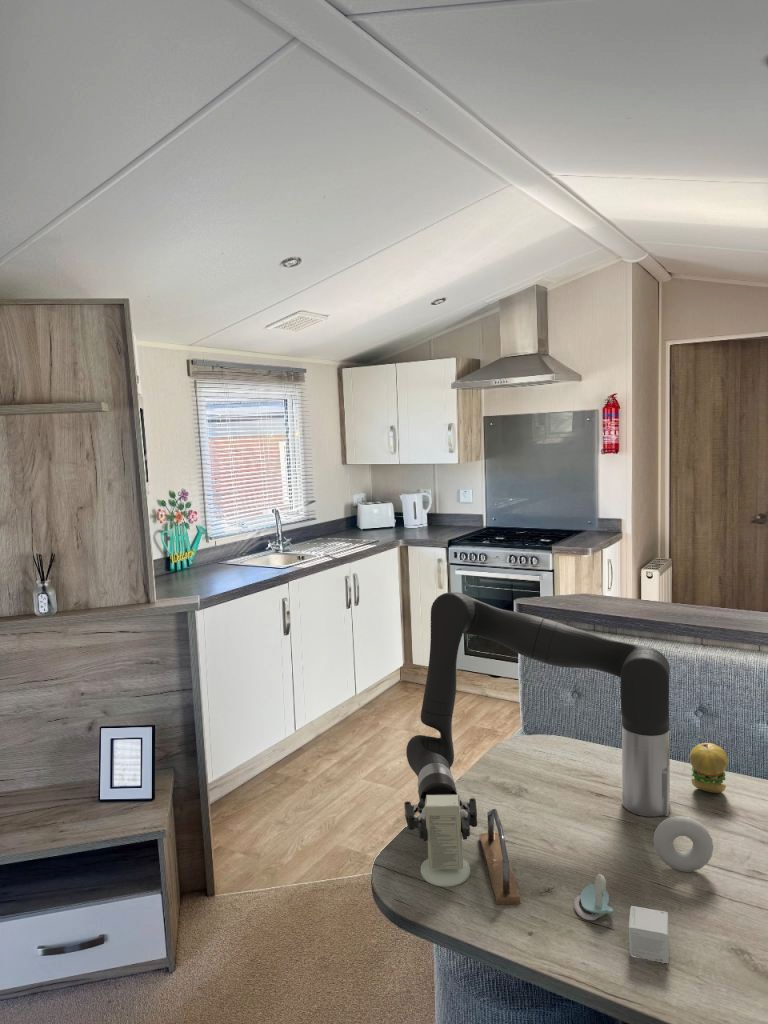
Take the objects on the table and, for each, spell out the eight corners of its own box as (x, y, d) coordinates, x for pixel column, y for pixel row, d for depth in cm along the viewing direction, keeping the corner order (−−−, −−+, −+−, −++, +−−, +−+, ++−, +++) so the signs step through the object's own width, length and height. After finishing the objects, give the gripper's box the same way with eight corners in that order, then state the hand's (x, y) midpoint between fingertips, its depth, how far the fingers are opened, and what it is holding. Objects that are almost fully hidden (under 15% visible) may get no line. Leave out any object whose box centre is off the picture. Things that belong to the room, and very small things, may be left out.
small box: (630, 933, 117) (630, 904, 117) (669, 940, 115) (669, 911, 114) (628, 957, 112) (628, 927, 111) (668, 966, 110) (668, 935, 109)
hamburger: (730, 789, 160) (730, 736, 159) (725, 805, 154) (726, 749, 153) (691, 782, 164) (692, 730, 163) (686, 796, 158) (686, 743, 157)
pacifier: (577, 925, 120) (615, 925, 119) (576, 888, 119) (614, 888, 118) (571, 896, 127) (607, 896, 126) (569, 862, 126) (605, 862, 126)
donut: (711, 867, 133) (712, 815, 132) (714, 879, 130) (715, 825, 129) (652, 861, 136) (652, 809, 135) (653, 872, 132) (654, 819, 131)
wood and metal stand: (479, 839, 145) (478, 791, 144) (499, 838, 145) (498, 790, 144) (497, 904, 125) (495, 849, 124) (520, 903, 125) (519, 848, 124)
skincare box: (462, 856, 137) (461, 793, 135) (463, 870, 132) (461, 806, 131) (428, 855, 137) (425, 793, 136) (427, 869, 133) (424, 805, 132)
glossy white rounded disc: (476, 863, 137) (476, 860, 137) (461, 891, 129) (461, 888, 129) (430, 853, 141) (430, 850, 141) (413, 880, 133) (413, 877, 133)
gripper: (400, 773, 148) (404, 818, 131) (472, 770, 148) (485, 814, 131) (401, 809, 149) (405, 857, 132) (473, 805, 149) (486, 853, 132)
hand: (445, 835), depth 132 cm, fingers closed on skincare box, 6 cm apart
